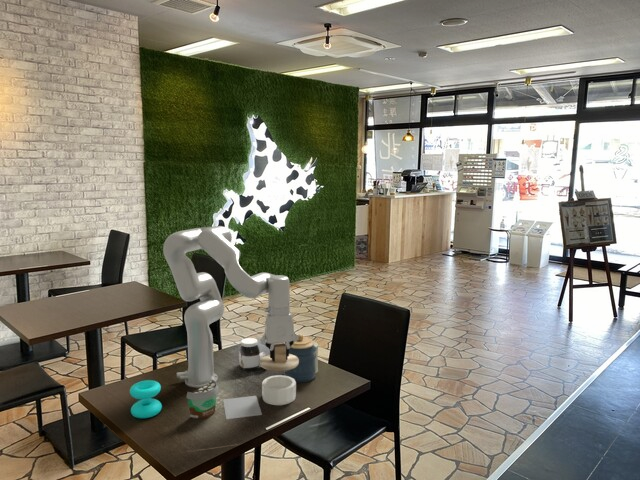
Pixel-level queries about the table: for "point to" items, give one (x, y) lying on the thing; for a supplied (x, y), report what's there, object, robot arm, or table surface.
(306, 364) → the canister
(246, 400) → the mat
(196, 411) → the food container
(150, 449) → the table surface
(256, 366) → the spread jar
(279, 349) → the lid
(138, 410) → the donuts
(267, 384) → the bowl
